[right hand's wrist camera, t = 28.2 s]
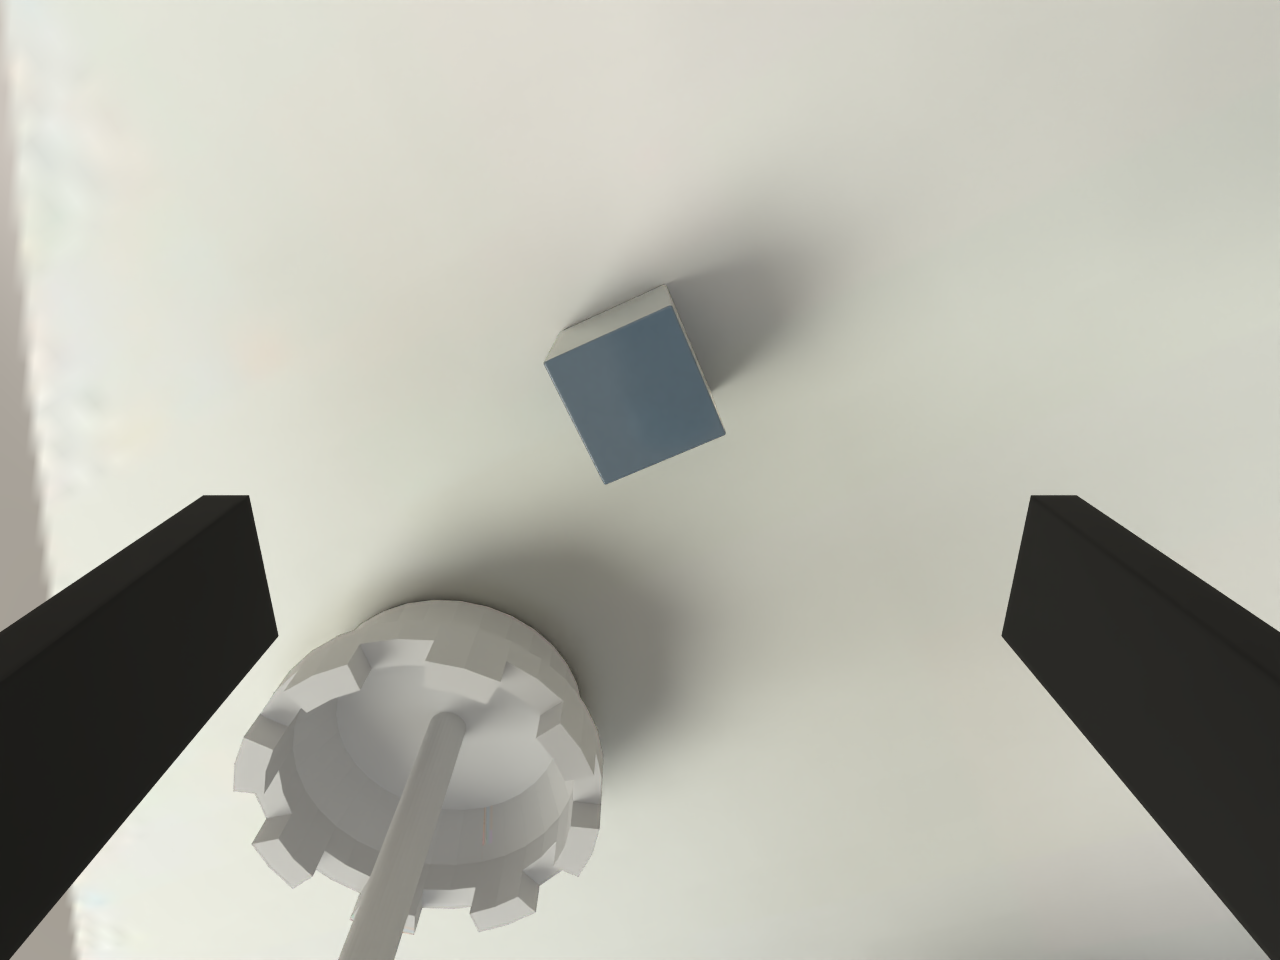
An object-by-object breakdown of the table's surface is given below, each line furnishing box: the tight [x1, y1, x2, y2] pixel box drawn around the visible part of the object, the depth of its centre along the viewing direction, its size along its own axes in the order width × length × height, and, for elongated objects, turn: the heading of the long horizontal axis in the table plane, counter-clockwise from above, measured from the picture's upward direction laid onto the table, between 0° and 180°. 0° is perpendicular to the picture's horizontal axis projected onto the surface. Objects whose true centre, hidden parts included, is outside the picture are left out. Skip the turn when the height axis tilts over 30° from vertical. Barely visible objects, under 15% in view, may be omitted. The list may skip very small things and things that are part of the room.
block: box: [544, 284, 726, 484], centre depth 23 cm, size 4×4×5 cm
